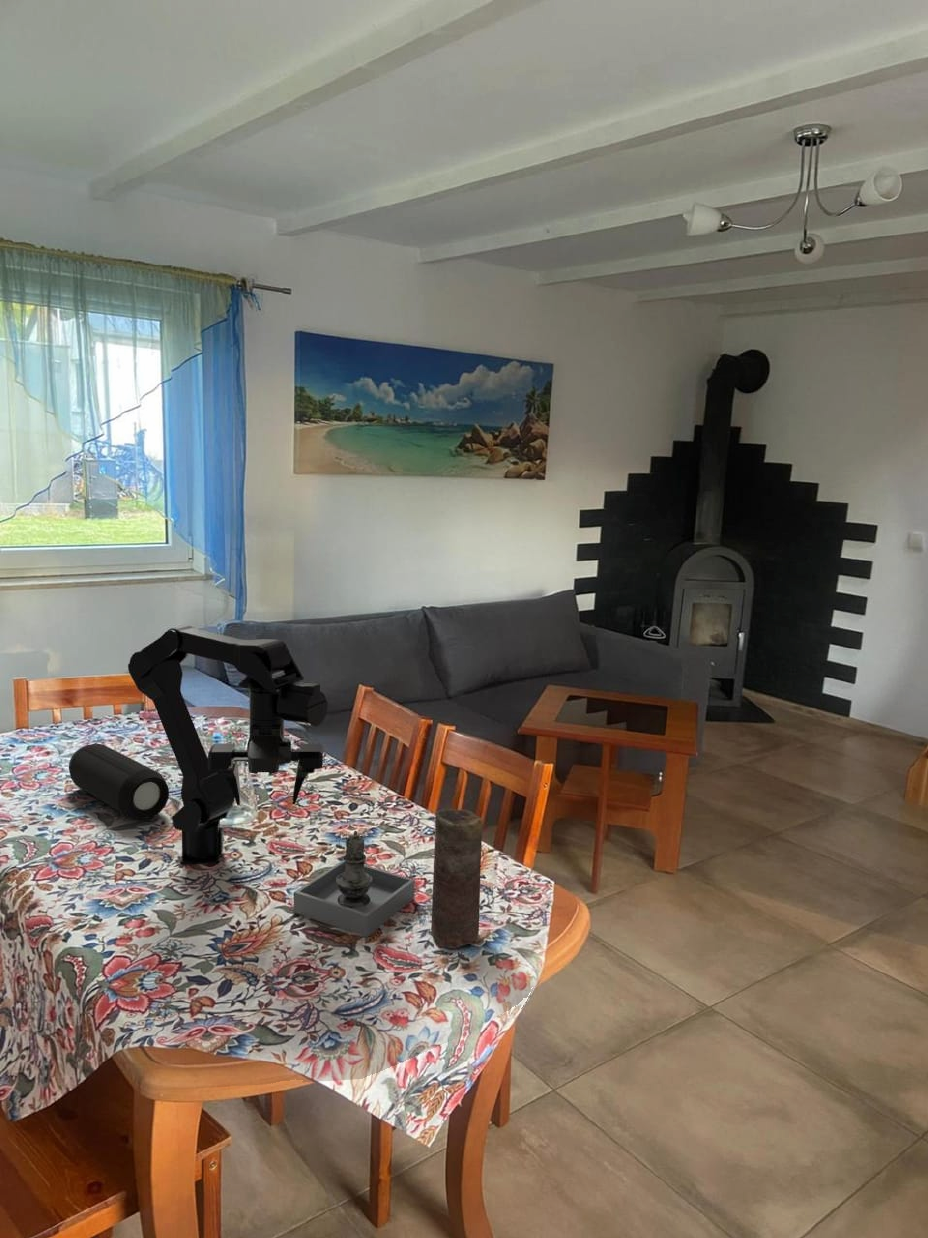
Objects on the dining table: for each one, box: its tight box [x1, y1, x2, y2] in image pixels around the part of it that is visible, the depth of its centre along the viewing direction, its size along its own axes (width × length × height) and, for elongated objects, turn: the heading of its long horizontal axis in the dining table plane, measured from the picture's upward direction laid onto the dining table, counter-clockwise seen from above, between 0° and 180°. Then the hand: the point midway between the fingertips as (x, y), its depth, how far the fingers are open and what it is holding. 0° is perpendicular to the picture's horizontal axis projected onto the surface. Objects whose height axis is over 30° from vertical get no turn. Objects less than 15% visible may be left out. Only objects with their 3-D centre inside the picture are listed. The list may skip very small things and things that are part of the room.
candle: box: [430, 808, 483, 949], centre depth 136 cm, size 8×7×20 cm
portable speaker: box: [68, 743, 170, 820], centre depth 182 cm, size 26×10×10 cm, turn 48°
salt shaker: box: [336, 830, 372, 908], centre depth 145 cm, size 6×6×12 cm
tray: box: [293, 859, 416, 938], centre depth 146 cm, size 14×14×4 cm
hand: (266, 804), depth 153 cm, fingers open, 9 cm apart
